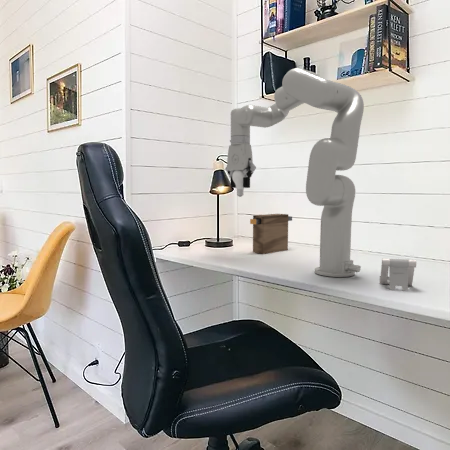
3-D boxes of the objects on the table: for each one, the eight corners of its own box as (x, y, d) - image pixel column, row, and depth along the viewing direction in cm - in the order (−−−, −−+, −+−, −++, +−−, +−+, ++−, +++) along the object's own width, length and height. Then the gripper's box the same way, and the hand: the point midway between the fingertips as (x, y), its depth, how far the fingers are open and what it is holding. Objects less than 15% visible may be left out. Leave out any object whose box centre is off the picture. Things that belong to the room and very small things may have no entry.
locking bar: (292, 220, 191) (292, 216, 191) (254, 224, 174) (254, 219, 174) (287, 220, 193) (287, 216, 192) (250, 223, 176) (250, 219, 176)
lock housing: (287, 249, 187) (288, 214, 186) (263, 254, 176) (263, 216, 175) (277, 248, 192) (277, 213, 190) (252, 252, 181) (253, 215, 179)
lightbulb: (228, 196, 169) (228, 168, 168) (241, 196, 173) (241, 168, 172) (239, 197, 164) (239, 168, 163) (251, 196, 168) (251, 168, 167)
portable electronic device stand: (411, 285, 123) (412, 256, 122) (415, 291, 116) (417, 261, 115) (379, 283, 125) (380, 255, 125) (382, 289, 118) (383, 259, 117)
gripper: (218, 142, 170) (218, 187, 172) (249, 138, 158) (249, 187, 159) (231, 143, 175) (231, 187, 177) (263, 140, 163) (263, 187, 165)
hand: (240, 187), depth 168 cm, fingers closed on lightbulb, 6 cm apart
